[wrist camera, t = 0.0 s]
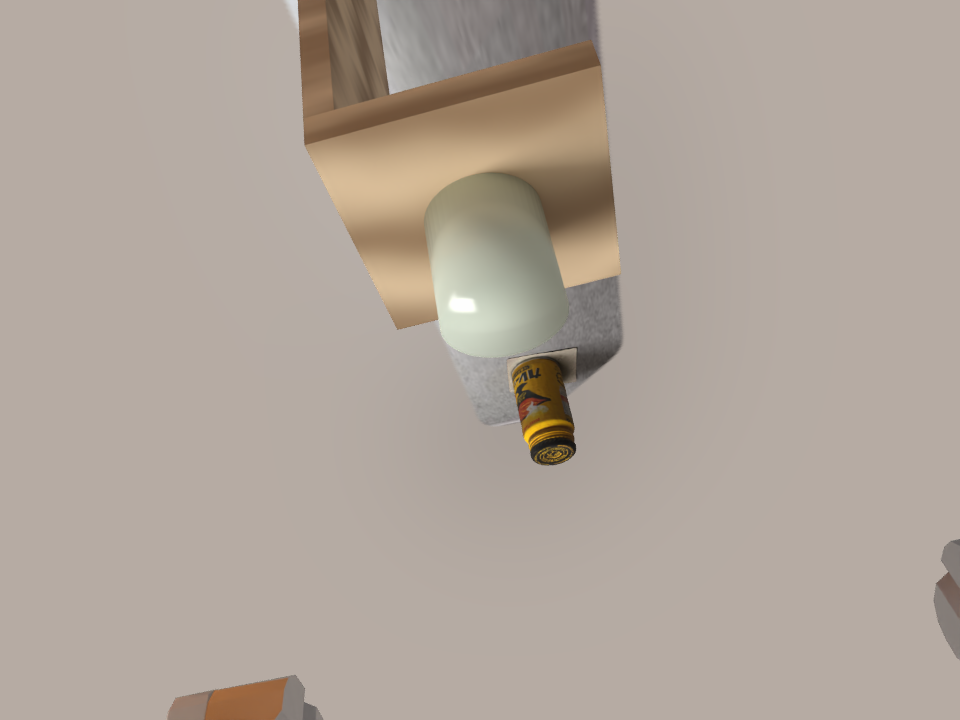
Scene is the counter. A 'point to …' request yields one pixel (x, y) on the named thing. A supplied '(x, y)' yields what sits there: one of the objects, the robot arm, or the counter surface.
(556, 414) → the condiment
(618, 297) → the counter surface
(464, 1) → the counter surface
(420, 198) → the oak counter shelf
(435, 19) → the counter surface
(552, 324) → the pale green cylinder
